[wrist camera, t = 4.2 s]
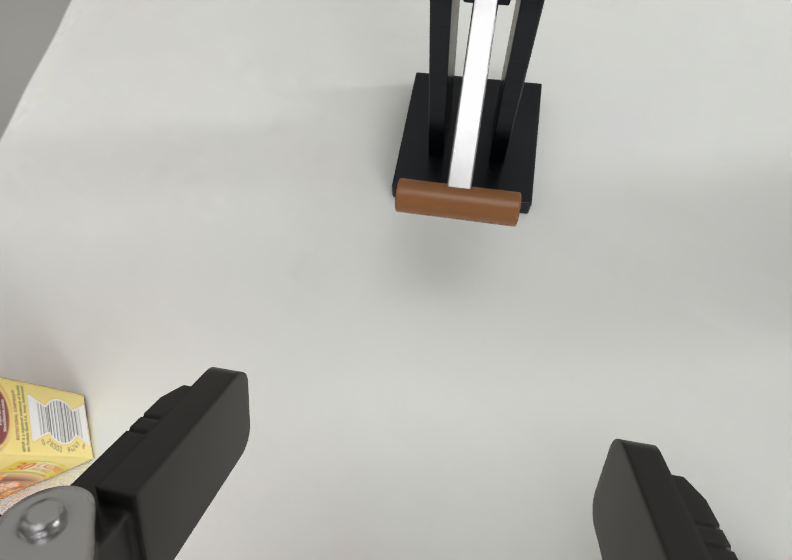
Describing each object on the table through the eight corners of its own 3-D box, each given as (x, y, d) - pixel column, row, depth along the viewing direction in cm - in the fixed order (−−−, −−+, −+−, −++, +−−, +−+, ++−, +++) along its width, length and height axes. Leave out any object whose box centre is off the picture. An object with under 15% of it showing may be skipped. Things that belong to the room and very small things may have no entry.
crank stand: (528, 213, 31) (607, 7, 17) (392, 197, 32) (368, -10, 19) (538, 95, 35) (611, -151, 21) (416, 84, 36) (411, -158, 22)
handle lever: (512, 228, 23) (518, 224, 21) (398, 213, 24) (392, 208, 21) (555, -53, 22) (566, -90, 20) (436, -60, 23) (433, -96, 21)
